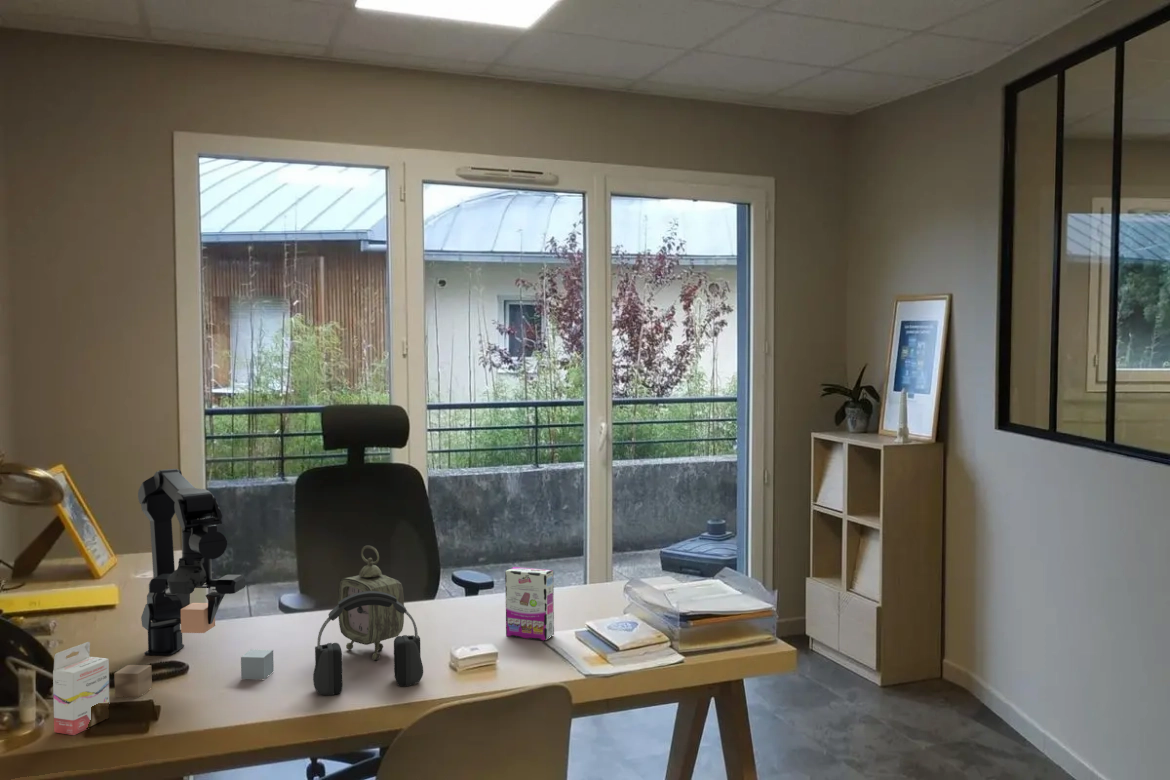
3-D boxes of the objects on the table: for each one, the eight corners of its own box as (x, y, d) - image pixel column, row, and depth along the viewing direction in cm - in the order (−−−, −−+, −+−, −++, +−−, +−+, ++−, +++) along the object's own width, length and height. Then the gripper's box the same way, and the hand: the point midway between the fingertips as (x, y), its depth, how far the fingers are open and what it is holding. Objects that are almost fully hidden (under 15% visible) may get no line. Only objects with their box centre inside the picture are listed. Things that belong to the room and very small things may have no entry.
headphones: (314, 699, 185) (312, 601, 184) (312, 688, 191) (311, 593, 190) (424, 685, 192) (423, 591, 191) (420, 675, 198) (418, 583, 197)
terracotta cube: (181, 632, 193) (180, 609, 193) (192, 625, 198) (192, 602, 198) (204, 633, 193) (203, 609, 193) (215, 626, 198) (214, 603, 198)
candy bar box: (555, 635, 225) (554, 569, 224) (546, 641, 220) (546, 574, 219) (514, 630, 229) (513, 565, 228) (504, 636, 224) (504, 570, 223)
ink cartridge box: (74, 736, 167) (72, 656, 166) (53, 733, 168) (50, 654, 168) (111, 718, 175) (109, 642, 175) (90, 715, 177) (88, 640, 176)
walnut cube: (114, 697, 186) (114, 673, 186) (128, 688, 191) (128, 664, 191) (138, 698, 186) (138, 673, 185) (152, 688, 191) (151, 665, 190)
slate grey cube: (241, 680, 195) (240, 657, 195) (251, 671, 200) (250, 649, 200) (264, 680, 195) (263, 657, 195) (273, 672, 200) (273, 649, 200)
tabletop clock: (338, 650, 214) (336, 544, 213) (371, 641, 221) (370, 538, 220) (374, 664, 205) (372, 553, 204) (407, 654, 211) (406, 547, 210)
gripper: (133, 559, 187) (135, 634, 188) (221, 560, 186) (223, 636, 187) (161, 547, 199) (163, 618, 199) (245, 548, 197) (247, 619, 198)
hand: (198, 623), depth 196 cm, fingers closed on terracotta cube, 5 cm apart
